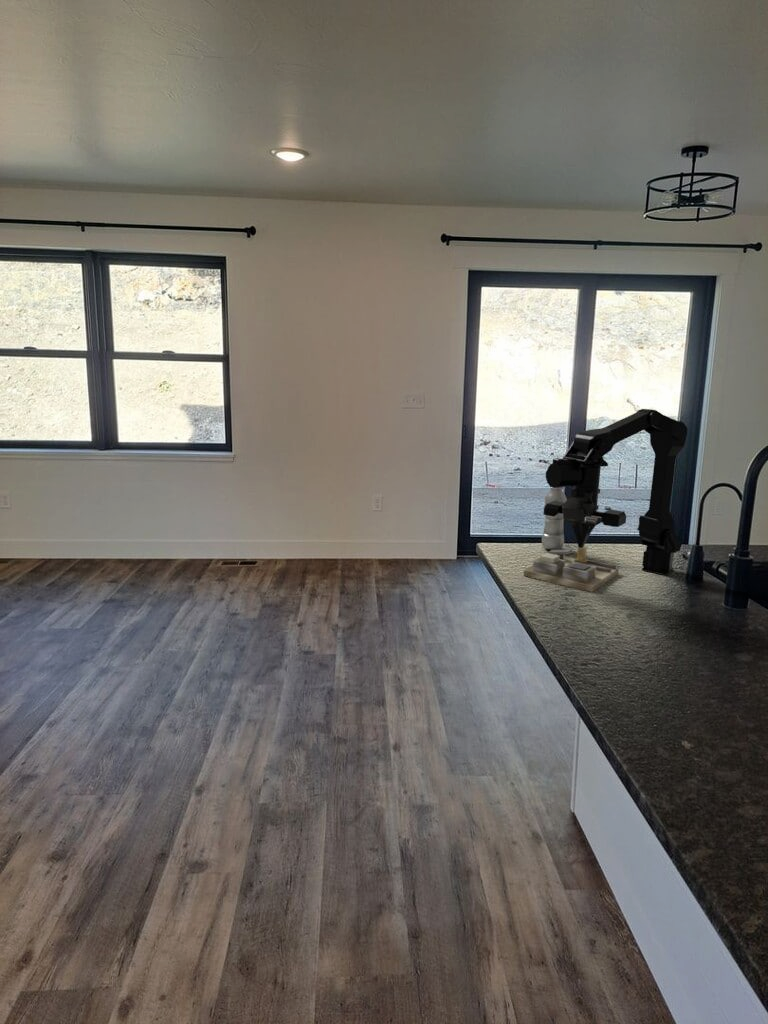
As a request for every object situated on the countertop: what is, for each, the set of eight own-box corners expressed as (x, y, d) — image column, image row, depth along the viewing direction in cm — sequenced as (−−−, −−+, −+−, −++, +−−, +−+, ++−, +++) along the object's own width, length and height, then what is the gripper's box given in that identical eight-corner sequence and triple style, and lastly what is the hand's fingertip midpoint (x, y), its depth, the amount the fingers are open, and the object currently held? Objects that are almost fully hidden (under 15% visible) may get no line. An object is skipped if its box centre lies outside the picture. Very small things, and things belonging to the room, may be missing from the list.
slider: (587, 563, 170) (589, 547, 169) (584, 565, 169) (586, 549, 168) (577, 560, 172) (578, 545, 171) (573, 562, 171) (575, 547, 170)
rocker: (572, 552, 173) (572, 549, 173) (568, 554, 171) (567, 551, 171) (552, 552, 177) (552, 549, 176) (548, 554, 174) (548, 552, 174)
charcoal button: (589, 573, 160) (589, 566, 159) (583, 577, 157) (584, 569, 157) (575, 570, 162) (575, 563, 161) (569, 574, 159) (569, 566, 159)
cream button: (559, 563, 164) (559, 555, 164) (553, 566, 162) (553, 558, 161) (546, 560, 167) (546, 552, 166) (539, 563, 164) (540, 555, 163)
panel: (618, 573, 168) (619, 558, 167) (591, 592, 154) (593, 575, 153) (553, 560, 179) (554, 545, 178) (523, 575, 165) (524, 560, 164)
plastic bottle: (540, 551, 187) (545, 483, 182) (541, 545, 193) (546, 479, 189) (563, 553, 185) (568, 485, 181) (563, 547, 191) (569, 481, 187)
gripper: (535, 484, 154) (531, 547, 157) (613, 495, 143) (606, 562, 146) (555, 478, 162) (550, 538, 166) (630, 488, 151) (623, 552, 155)
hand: (580, 547), depth 158 cm, fingers closed
